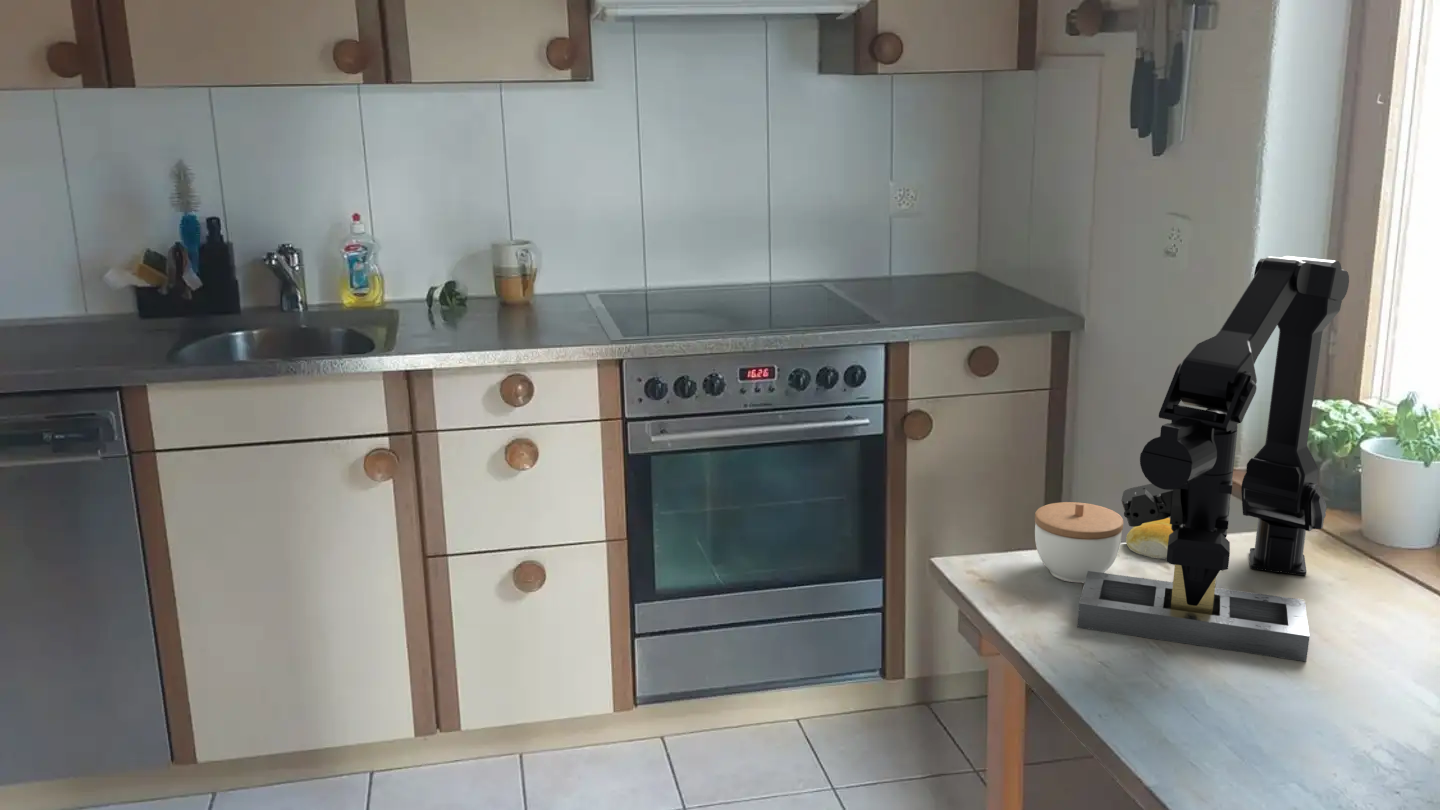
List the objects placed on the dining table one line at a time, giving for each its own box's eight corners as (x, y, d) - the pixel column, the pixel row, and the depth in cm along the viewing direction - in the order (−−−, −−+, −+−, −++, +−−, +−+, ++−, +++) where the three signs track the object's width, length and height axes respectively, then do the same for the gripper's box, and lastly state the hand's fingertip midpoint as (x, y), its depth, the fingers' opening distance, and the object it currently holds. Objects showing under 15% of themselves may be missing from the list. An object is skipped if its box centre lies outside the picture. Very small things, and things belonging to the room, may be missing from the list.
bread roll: (1199, 544, 167) (1202, 516, 166) (1180, 565, 160) (1183, 536, 159) (1138, 531, 172) (1140, 504, 170) (1117, 552, 164) (1119, 523, 163)
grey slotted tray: (1086, 593, 151) (1087, 570, 150) (1301, 623, 143) (1304, 599, 142) (1077, 627, 142) (1078, 603, 142) (1306, 661, 134) (1309, 636, 133)
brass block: (1211, 606, 143) (1217, 554, 141) (1211, 622, 139) (1216, 568, 138) (1171, 601, 145) (1176, 549, 143) (1169, 616, 141) (1174, 563, 139)
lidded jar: (1101, 555, 163) (1106, 488, 160) (1132, 589, 152) (1138, 517, 150) (1020, 558, 162) (1024, 490, 160) (1046, 592, 152) (1051, 520, 149)
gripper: (1135, 436, 149) (1125, 557, 153) (1123, 485, 132) (1112, 619, 136) (1235, 446, 145) (1221, 570, 149) (1236, 497, 128) (1221, 635, 132)
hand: (1192, 596), depth 142 cm, fingers closed on brass block, 4 cm apart
